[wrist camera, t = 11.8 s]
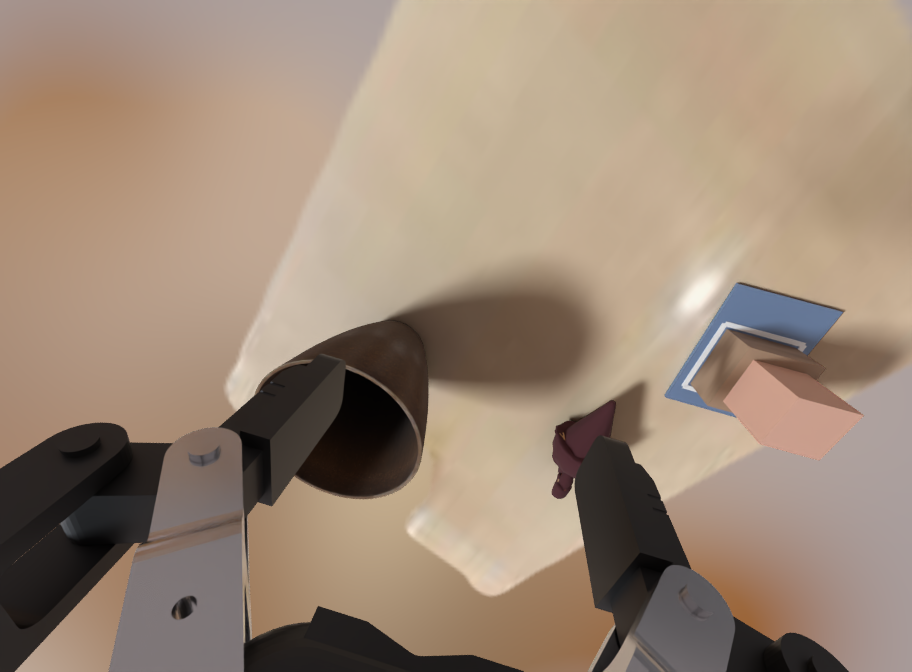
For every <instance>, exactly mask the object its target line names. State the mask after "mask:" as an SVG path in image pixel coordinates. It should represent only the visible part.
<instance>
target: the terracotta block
mask: <svg viewBox="0 0 912 672" xmlns="http://www.w3.org/2000/svg"><path fill="white" fill-rule="evenodd" d="M723 402H724V403H725V404H726V405H727V407H728V408H729V409H730V410H731V411H732V412H733V414H734V415H735V416H736V417H737V418H738V419H739V421H740V422H741V423H742V424H743V425H744V426H745V428H746V429H747V430H748V431H749V432H750V433H751V435H752V436H753V437H754V438H755V439H756V440H757V442H758V443H759V444H761V445H765V446H768V447H772V448H776V449H780V450H783V451H786V452H790V453H794V454H797V455H801V456H804V457H808V458H812V459H815V460H820V459H821V458H822V457H823V456H824V455H825V454H826V453H827V452H828V451H829V450H830V449H831V448H832V447H833V446H834V445H835V444H836V443H837V442H838V441H839V440H840V439H841V438H842V437H843V436H844V435H845V434H846V433H847V432H848V431H849V430H850V429H851V428H852V427H853V426H854V425H855V424H856V423H857V422H858V421H859V420H860V419H861V418H862V417H863V416H864V415H863V414H861V413H860V412H858V411H857V410H856V409H855V408H853V407H852V406H850V405H849V404H848V403H846V402H845V401H844V400H842V399H841V398H839V397H838V396H837V395H835V394H834V393H833V392H831V391H830V390H829V389H827V388H826V387H824V386H823V385H822V384H820V383H819V382H818V381H816V380H815V379H813V378H812V377H811V376H809V375H808V374H805V373H801V372H798V371H794V370H790V369H786V368H783V367H779V366H775V365H771V364H768V363H764V362H760V361H756V360H753V361H752V362H751V364H750V365H749V366H748V368H747V369H746V371H745V372H744V373H743V375H742V376H741V377H740V379H739V380H738V381H737V383H736V384H735V386H734V387H733V388H732V390H731V391H730V392H729V394H728V395H727V396H726V398H725V399H724V401H723Z"/></svg>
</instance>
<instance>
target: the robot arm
mask: <svg viewBox="0 0 912 672" xmlns="http://www.w3.org/2000/svg"><path fill="white" fill-rule="evenodd" d="M345 369H346V362H345V361H344V360H342V359H338V358H335V357H331V356H328V355H325V354H319V355H318V356H317V357H316V358H315V359H313V360H312V361H311V362H310V363H309V364H308V365H307V366H303V365H300V364H298V365H296V366H293V367H291V368H289V369H286V370H284V371H282V372H281V373H280V374H279V375H277V376H276V377H275V378H274V379H273V380H272V381H271V382H270V384H267V385H266V386H265V387H264V388H263V389H262V390H260V393H257V394H256V395H255V396H254V397H252V398H251V399H250V400H249V401H248V402H247V403H246V404H245V405H243V406H242V407H241V408H240V409H239V410H238V411H237V412H235V413H234V415H232V416H231V417H230V418H229V419H228V420H226V421H225V422H224V423H223V424H222V425H221V426H220V427H218V428H205V429H201V430H197V431H193V432H191V433H189V434H186V435H184V436H183V437H181V438H179V439H178V440H177V441H175V442H174V443H130V442H129V438H128V435H127V432H126V430H125V429H124V428H122V427H121V426H119V425H116V424H112V423H91V424H85V425H80V426H76V427H73V428H70V429H67V430H64V431H62V432H60V433H57V434H55V435H54V436H52V437H50V438H48V439H46V440H45V441H43V442H42V443H40V444H39V445H37V446H35V447H34V448H32V449H31V450H29V451H28V452H26V453H24V454H23V455H21V456H20V457H18V458H16V459H15V460H13V461H12V462H10V463H8V464H7V465H5V466H4V467H2V468H1V469H0V672H15V671H16V670H17V668H18V667H19V666H20V665H21V664H22V663H23V662H24V661H25V660H26V659H27V658H28V657H29V656H30V654H31V653H32V652H33V651H34V650H35V649H36V648H37V647H38V646H39V645H40V643H42V642H43V641H44V640H45V638H46V637H47V636H48V635H49V634H50V633H51V632H52V631H53V630H54V629H55V628H56V627H57V625H59V623H60V622H61V621H62V620H63V619H64V618H65V617H66V616H67V615H68V614H69V613H70V612H71V610H73V608H74V607H75V606H76V605H77V604H78V603H79V602H80V601H81V600H82V599H83V598H84V597H85V596H86V595H87V593H88V592H89V591H90V590H91V589H92V588H93V587H94V586H95V585H96V584H97V583H98V582H99V581H100V580H101V578H102V577H103V576H104V575H105V574H106V573H107V572H108V571H109V570H110V569H111V568H112V567H113V566H114V565H115V563H116V562H117V561H118V560H119V559H120V558H121V557H122V556H123V555H124V554H125V553H126V552H127V551H128V550H129V548H130V547H131V546H132V545H133V544H134V543H141V544H140V545H139V546H138V548H137V549H136V552H135V555H134V558H133V562H132V566H131V571H130V576H129V580H128V585H127V589H126V594H125V599H124V603H123V608H122V613H121V617H120V622H119V626H118V631H117V635H116V640H115V645H114V649H113V654H112V659H111V663H110V668H109V672H524V671H521V670H518V669H515V668H511V667H509V666H505V665H502V664H499V663H496V662H493V661H490V660H487V659H483V658H480V657H477V656H474V655H452V656H417V655H414V654H412V653H410V652H409V651H408V650H406V649H405V648H403V647H402V646H401V645H399V644H398V643H396V642H395V641H394V640H392V639H391V638H389V637H388V636H387V635H385V634H384V633H383V632H381V631H380V630H378V629H377V628H376V627H374V626H373V625H371V624H370V623H369V622H367V621H363V620H361V619H357V618H354V617H351V616H348V615H345V614H342V613H338V612H335V611H332V610H329V609H326V608H322V607H319V606H318V607H317V609H316V612H315V614H314V616H313V618H312V621H311V622H308V623H297V624H291V625H286V626H283V627H279V628H276V629H273V630H271V631H268V632H266V633H264V634H261V635H259V636H257V637H255V638H253V639H252V629H251V607H250V584H249V550H248V549H249V548H248V517H247V515H248V514H249V513H250V511H251V510H252V509H253V508H254V506H255V505H256V503H257V502H259V503H263V504H266V505H269V506H273V504H274V503H275V502H276V500H277V499H278V497H279V496H280V495H281V493H282V492H283V490H284V489H285V487H286V486H287V485H288V483H289V482H290V481H291V479H292V478H293V477H294V475H295V474H296V472H297V471H298V470H299V468H300V467H301V465H302V464H303V463H304V461H305V460H306V458H307V457H308V456H309V454H310V453H311V451H312V450H313V449H314V447H315V446H316V444H317V443H318V442H319V440H320V439H321V437H322V436H323V435H324V433H325V432H326V430H327V429H328V428H329V426H330V425H331V424H332V422H333V421H334V419H335V418H336V416H337V414H338V412H339V410H340V407H341V404H342V399H343V390H344V380H345ZM575 494H576V500H577V506H578V511H579V517H580V523H581V529H582V535H583V540H584V546H585V552H586V558H587V564H588V569H589V575H590V581H591V587H592V593H593V598H594V604H595V608H598V609H601V610H605V611H608V612H612V613H613V616H614V621H615V625H614V626H613V627H612V628H611V630H610V631H609V633H608V635H607V637H606V639H605V640H604V642H603V644H602V646H601V648H600V650H599V652H598V654H597V655H596V657H595V659H594V661H593V663H592V664H591V666H590V668H589V670H588V672H849V671H848V670H847V669H846V668H845V667H844V666H843V665H842V664H841V663H840V662H839V661H838V660H837V659H836V658H835V657H834V656H833V655H832V654H830V653H829V652H828V651H827V650H826V649H824V648H823V647H822V646H820V645H819V644H817V643H816V642H814V641H813V640H811V639H809V638H807V637H805V636H803V635H800V634H797V633H786V634H785V635H783V636H782V637H781V638H779V639H778V640H776V641H773V640H771V639H770V638H768V637H766V636H765V635H763V634H761V633H760V632H758V631H756V630H755V629H753V628H751V627H750V626H748V625H746V624H745V623H743V622H741V621H740V620H738V619H737V618H735V617H733V615H732V613H731V611H730V609H729V607H728V605H727V603H726V602H725V600H724V599H723V597H722V596H721V595H720V593H719V592H718V591H717V590H716V589H715V588H714V587H713V586H712V584H710V583H709V582H708V581H707V580H706V579H705V578H704V577H702V576H701V575H700V574H698V573H696V572H695V571H693V570H691V567H690V565H689V562H688V560H687V558H686V555H685V553H684V551H683V548H682V546H681V544H680V541H679V539H678V537H677V534H676V532H675V529H674V527H673V525H672V522H671V520H670V518H669V515H667V514H666V513H667V511H666V508H665V506H664V504H663V501H661V497H660V494H659V492H658V490H657V487H656V485H655V483H654V481H653V479H652V478H651V477H650V476H649V474H648V473H647V472H646V471H645V469H644V468H643V467H642V466H641V465H640V464H637V463H635V462H634V459H633V456H632V454H631V451H630V449H629V446H628V445H627V443H625V442H622V441H619V440H615V439H612V438H609V437H605V436H602V435H599V436H598V437H597V438H596V439H595V440H594V442H593V444H592V446H591V447H590V449H589V451H588V453H587V454H586V456H585V458H584V460H583V462H582V463H581V465H580V467H579V469H578V471H577V474H576V478H575ZM55 527H56V528H55ZM54 528H55V529H54ZM49 532H50V533H49ZM48 533H49V534H48ZM42 538H43V539H42ZM41 539H42V540H41ZM36 543H37V544H36ZM35 544H36V545H35ZM29 549H30V550H29ZM28 550H29V551H28ZM23 554H24V555H23ZM22 555H23V556H22ZM17 559H18V560H17ZM16 560H17V561H16ZM15 561H16V562H15Z"/></svg>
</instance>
